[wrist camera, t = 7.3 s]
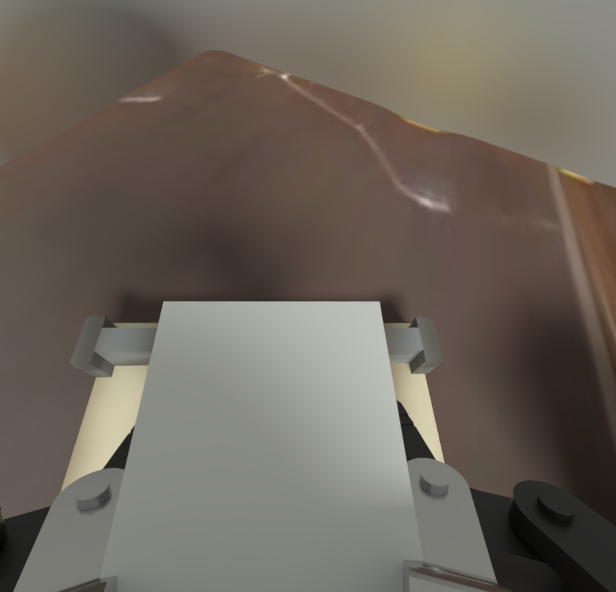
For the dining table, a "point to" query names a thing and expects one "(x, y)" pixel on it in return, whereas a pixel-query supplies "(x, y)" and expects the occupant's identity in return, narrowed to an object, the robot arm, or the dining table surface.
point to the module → (265, 455)
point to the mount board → (135, 361)
